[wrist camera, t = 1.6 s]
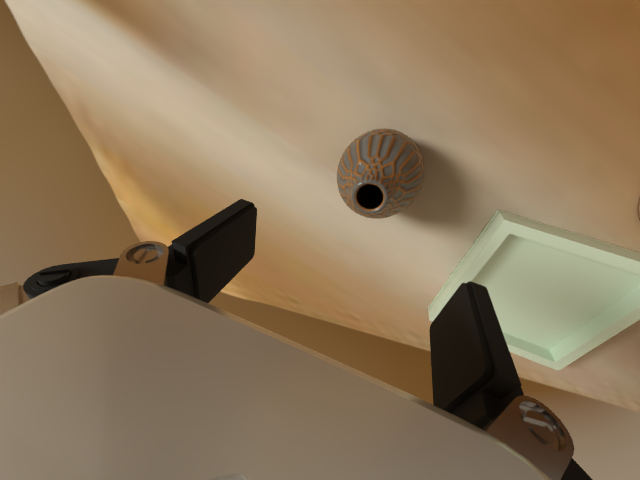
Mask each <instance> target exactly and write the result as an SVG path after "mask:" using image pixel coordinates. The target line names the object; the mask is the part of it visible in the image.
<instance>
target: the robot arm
mask: <svg viewBox="0 0 640 480" xmlns="http://www.w3.org/2000/svg"><path fill="white" fill-rule="evenodd" d="M256 218H257V208H256V207H254V204H253V203H251V202H249V201H246V200H243V199H240V200H238V201H237V202H235V203H234V204H232V205H230V206H229V207H227V208H225V209H224V210H222V211H220V212H219V213H217V214H215V215H214V216H212V217H211V218H209V219H207V220H206V221H204V222H202V223H201V224H199V225H197V226H196V227H194V228H192V229H191V230H189V231H188V232H186V233H184V234H183V235H181V236H179V237H178V238H176V239H174V240H173V241H172V245H170V246H169V247H167V246H166V245H165V244H163V243H160V242H156V241H147V242H140V243H137V244H134V245H132V246H129V247H128V248H126V249H125V250H124V251H123V252H122V254H121V255H120V258H117V259H108V260H98V261H89V262H82V263H71V264H63V265H58V266H52V267H49V268H46V269H43V270H41V271H39V272H37V273H35V274H34V275H32V276H31V277H29V278H28V279H27V280H26V281H25V283H24V284H23V285H19V283H18V282H14V283H10V284H6V285H2V286H0V480H592V479H591V478H590V477H589V476H588V475H587V473H586V472H585V471H584V470H583V469H582V468H581V467H580V466H579V465H578V464H577V463H576V462H575V461H574V460H573V459H572V456H573V453H574V445H573V441H572V438H571V436H570V434H569V432H568V430H567V429H566V427H565V426H564V425H563V423H562V422H561V420H560V419H559V418H558V417H557V416H556V415H555V414H554V413H553V412H552V411H551V410H550V409H549V408H548V407H546V406H545V405H544V404H543V403H541V402H539V401H538V400H536V399H534V398H531V397H528V396H524V394H523V391H522V389H521V383H520V380H519V377H518V374H517V371H516V369H515V366H514V363H513V360H512V357H511V355H510V352H509V349H508V346H507V343H506V341H505V338H504V335H503V332H502V329H501V326H500V324H499V321H498V318H497V315H496V312H495V310H494V307H493V304H492V301H491V298H490V296H489V293H488V290H487V288H486V287H485V286H483V285H480V284H477V283H474V282H471V281H469V282H467V283H462V284H461V285H460V286H459V287H458V289H457V290H456V291H455V293H454V294H453V295H452V297H451V298H450V299H449V301H448V302H447V303H446V305H445V306H444V307H443V309H442V310H441V311H440V313H439V314H438V315H437V317H436V318H435V319H434V321H433V322H432V324H431V326H430V347H431V366H432V385H433V404H434V405H432V404H430V403H427V402H425V401H423V400H421V399H419V398H417V397H415V396H413V395H411V394H408V393H406V392H404V391H402V390H400V389H398V388H395V387H393V386H391V385H389V384H387V383H384V382H382V381H380V380H378V379H376V378H373V377H371V376H369V375H367V374H364V373H362V372H360V371H358V370H356V369H354V368H351V367H349V366H347V365H345V364H343V363H340V362H338V361H336V360H334V359H332V358H329V357H327V356H325V355H322V354H320V353H318V352H316V351H314V350H312V349H309V348H307V347H305V346H303V345H300V344H298V343H296V342H294V341H292V340H289V339H287V338H285V337H282V336H280V335H278V334H276V333H274V332H271V331H269V330H267V329H265V328H262V327H260V326H258V325H256V324H253V323H251V322H249V321H247V320H244V319H242V318H240V317H238V316H235V315H233V314H231V313H228V312H226V311H224V310H222V309H219V308H217V307H215V306H213V305H210V304H208V303H209V301H211V300H212V299H213V298H214V297H215V296H216V295H217V294H218V293H219V292H220V291H221V290H222V289H223V288H224V287H225V286H226V285H227V284H228V283H229V282H230V281H231V279H232V278H233V277H234V276H235V275H236V274H237V273H238V272H239V271H240V270H241V269H242V268H243V267H244V266H245V265H246V264H247V263H248V262H249V261H250V260H251V259H252V258H253V256H254V252H255V236H256Z"/></svg>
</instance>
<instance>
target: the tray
mask: <svg viewBox="0 0 640 480" xmlns="http://www.w3.org/2000/svg"><path fill="white" fill-rule="evenodd" d="M469 281H471V282H474V283H477V284H480V285H483V286H485V287H486V288H487V290H488V293H489V296H490V298H491V301H492V304H493V307H494V310H495V312H496V315H497V318H498V321H499V324H500V326H501V329H502V332H503V335H504V338H505V341H506V343H507V346H508V349H509V352H511V353H514V354H517V355H519V356H522V357H524V358H527V359H529V360H532V361H535V362H537V363H540V364H542V365H545V366H547V367H550V368H552V369H555V370H558V371H559V370H561V369H562V368H564V367H565V366H567V365H569V364H570V363H572V362H573V361H575V360H577V359H578V358H580V357H581V356H583V355H584V354H586V353H588V352H589V351H591V350H592V349H594V348H596V347H597V346H599V345H600V344H602V343H603V342H605V341H607V340H608V339H610V338H611V337H613V336H615V335H616V334H618V333H619V332H621V331H622V330H624V329H626V328H627V327H629V326H630V325H632V324H634V323H635V322H637V321H638V320H640V253H639V252H635V251H632V250H629V249H625V248H622V247H619V246H616V245H612V244H609V243H606V242H603V241H599V240H596V239H593V238H589V237H586V236H583V235H580V234H576V233H573V232H570V231H567V230H563V229H560V228H557V227H553V226H550V225H547V224H544V223H540V222H537V221H534V220H530V219H527V218H524V217H521V216H517V215H514V214H511V213H508V212H504V211H501V210H497V212H496V213H495V214H494V216H493V217H492V219H491V220H490V221H489V223H488V224H487V226H486V227H485V228H484V230H483V231H482V233H481V234H480V235H479V237H478V238H477V240H476V241H475V242H474V244H473V245H472V247H471V248H470V249H469V251H468V252H467V254H466V255H465V257H464V258H463V259H462V261H461V262H460V264H459V265H458V266H457V268H456V269H455V271H454V272H453V273H452V275H451V276H450V278H449V279H448V280H447V282H446V283H445V285H444V286H443V287H442V289H441V290H440V292H439V293H438V294H437V296H436V297H435V299H434V300H433V302H432V303H431V304H430V306H429V307H428V309H429V321H432V322H433V321H434V319H435V318H436V317H437V315H438V314H439V313H440V311H441V310H442V309H443V307H444V306H445V305H446V303H447V302H448V301H449V299H450V298H451V297H452V295H453V294H454V293H455V291H456V290H457V289H458V287H459V286H460V285H461V284H462V283H467V282H469Z"/></svg>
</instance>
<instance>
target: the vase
mask: <svg viewBox="0 0 640 480" xmlns="http://www.w3.org/2000/svg"><path fill="white" fill-rule="evenodd" d="M423 178H424V163H423V158H422V155H421V153H420V151H419V149H418V147H417V145H416V144H415V143H414V142H413V141H412V140H411V139H410V138H409V137H408V136H407V135H405V134H403V133H401V132H399V131H396V130H392V129H377V130H373V131H369V132H367V133H365V134H363V135H361V136H359V137H358V138H357V139H355V140H354V141H353V142H352V143H351V144H350V145H349V146H348V147H347V149H346V150H345V151H344V153H343V155H342V157H341V159H340V162H339V165H338V170H337V184H338V189H339V192H340V195H341V197H342V199H343V200H344V202H345V203H346V205H347V206H348V207H349V208H350V209H352V210H353V211H354V212H356V213H357V214H359V215H362V216H364V217H368V218H386V217H390V216H393V215H395V214H397V213H399V212H401V211H402V210H404V209H405V208H406V207H407V206H408V205H409V204H410V203H411V202H412V201H413V200H414V199H415V197H416V196H417V194H418V192H419V190H420V188H421V186H422V182H423Z"/></svg>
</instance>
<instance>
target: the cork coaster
mask: <svg viewBox="0 0 640 480" xmlns="http://www.w3.org/2000/svg"><path fill="white" fill-rule="evenodd" d="M638 217H639V220H640V199H639V203H638Z"/></svg>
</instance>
